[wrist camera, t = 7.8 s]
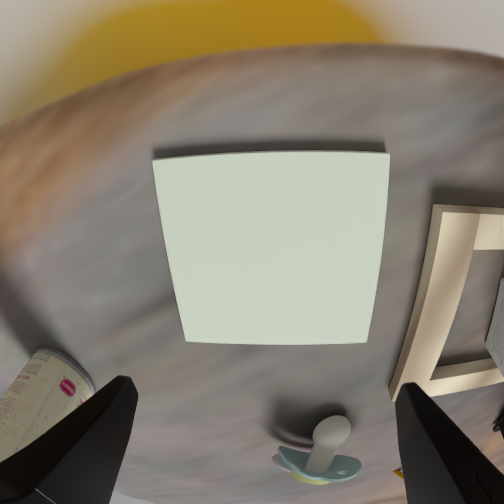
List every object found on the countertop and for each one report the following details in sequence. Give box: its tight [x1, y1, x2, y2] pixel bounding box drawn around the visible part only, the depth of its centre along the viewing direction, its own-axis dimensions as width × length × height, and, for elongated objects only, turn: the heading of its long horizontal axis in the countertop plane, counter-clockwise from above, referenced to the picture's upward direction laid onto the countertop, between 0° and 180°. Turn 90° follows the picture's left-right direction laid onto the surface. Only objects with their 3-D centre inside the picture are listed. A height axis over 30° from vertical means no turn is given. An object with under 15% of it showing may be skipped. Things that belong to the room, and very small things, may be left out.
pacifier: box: [272, 415, 362, 485], centre depth 22 cm, size 7×6×6 cm
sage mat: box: [152, 150, 390, 345], centre depth 16 cm, size 11×11×1 cm
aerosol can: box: [0, 347, 96, 462], centre depth 15 cm, size 7×7×20 cm
